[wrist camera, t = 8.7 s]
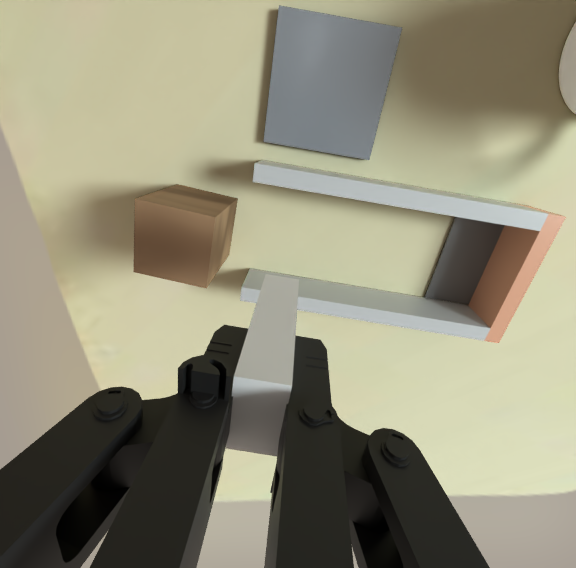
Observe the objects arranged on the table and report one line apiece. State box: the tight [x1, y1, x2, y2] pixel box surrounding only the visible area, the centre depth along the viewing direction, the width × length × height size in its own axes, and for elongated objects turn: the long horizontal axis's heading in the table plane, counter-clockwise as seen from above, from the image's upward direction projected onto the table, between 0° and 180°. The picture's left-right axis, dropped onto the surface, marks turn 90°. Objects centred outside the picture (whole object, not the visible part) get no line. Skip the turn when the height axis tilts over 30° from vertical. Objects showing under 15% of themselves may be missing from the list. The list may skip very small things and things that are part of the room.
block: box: [134, 184, 238, 288], centre depth 24 cm, size 5×5×7 cm
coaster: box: [264, 5, 402, 160], centre depth 22 cm, size 8×8×1 cm
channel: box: [240, 160, 566, 343], centre depth 25 cm, size 10×21×4 cm, turn 81°
